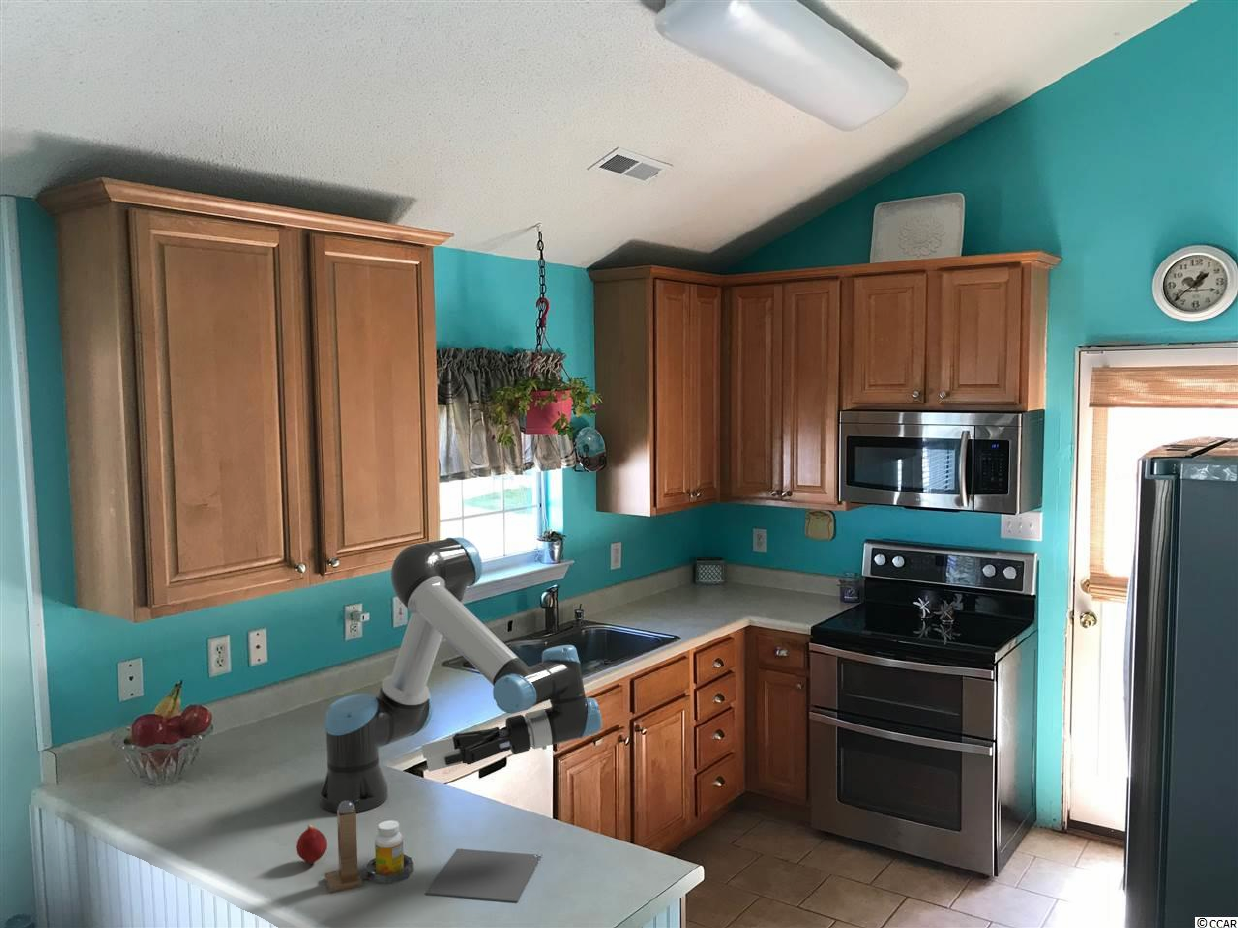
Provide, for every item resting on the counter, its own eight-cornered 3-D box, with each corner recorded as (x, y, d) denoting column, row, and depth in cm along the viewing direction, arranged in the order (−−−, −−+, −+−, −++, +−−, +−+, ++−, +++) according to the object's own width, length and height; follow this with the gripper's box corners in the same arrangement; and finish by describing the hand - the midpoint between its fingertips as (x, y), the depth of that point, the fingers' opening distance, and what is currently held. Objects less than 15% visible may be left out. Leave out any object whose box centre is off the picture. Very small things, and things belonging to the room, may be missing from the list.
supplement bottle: (370, 873, 191) (368, 825, 191) (392, 862, 196) (391, 815, 195) (387, 881, 188) (385, 833, 187) (409, 871, 192) (408, 823, 191)
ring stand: (345, 857, 198) (342, 780, 197) (419, 863, 195) (417, 785, 194) (312, 891, 185) (309, 809, 183) (392, 898, 182) (389, 815, 181)
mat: (457, 849, 201) (457, 848, 201) (541, 856, 198) (541, 854, 198) (425, 894, 183) (425, 892, 183) (517, 902, 180) (517, 900, 180)
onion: (330, 856, 199) (329, 818, 198) (322, 869, 193) (321, 830, 192) (301, 856, 198) (300, 818, 198) (293, 870, 193) (291, 831, 192)
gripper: (542, 761, 189) (433, 790, 183) (520, 739, 213) (423, 763, 207) (535, 723, 190) (426, 750, 184) (514, 705, 214) (417, 728, 208)
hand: (424, 757), depth 196 cm, fingers open, 13 cm apart
